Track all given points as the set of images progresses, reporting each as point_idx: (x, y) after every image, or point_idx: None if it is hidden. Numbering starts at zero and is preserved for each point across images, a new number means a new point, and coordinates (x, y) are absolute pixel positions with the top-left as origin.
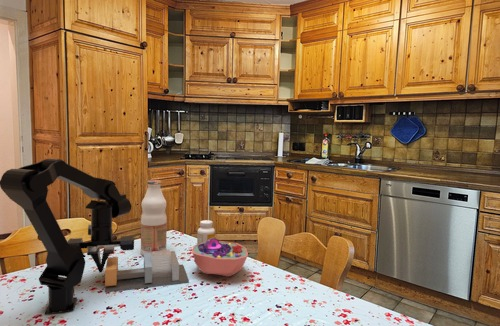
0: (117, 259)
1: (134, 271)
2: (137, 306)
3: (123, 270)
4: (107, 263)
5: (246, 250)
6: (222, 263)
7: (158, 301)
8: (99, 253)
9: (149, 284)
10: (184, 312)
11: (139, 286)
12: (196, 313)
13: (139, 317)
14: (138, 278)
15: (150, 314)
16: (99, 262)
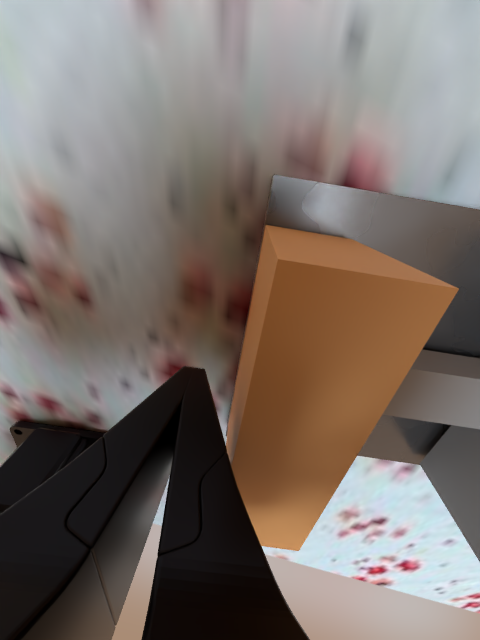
0: (394, 391)
1: (445, 403)
2: (317, 526)
3: (409, 208)
4: (245, 452)
5: None
6: None
7: (389, 528)
8: (69, 632)
9: None
10: (416, 574)
11: (384, 455)
12: (439, 583)
13: (304, 555)
14: None
15: (334, 556)
16: (148, 533)
